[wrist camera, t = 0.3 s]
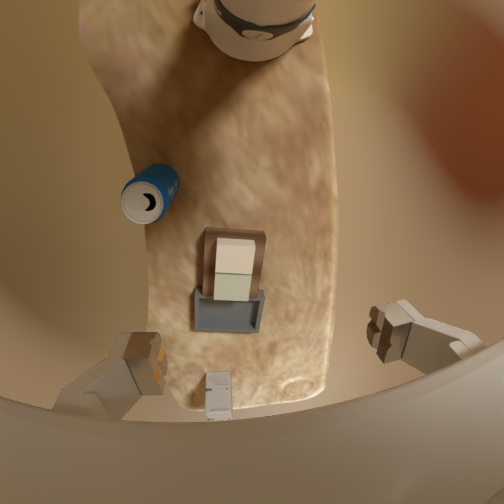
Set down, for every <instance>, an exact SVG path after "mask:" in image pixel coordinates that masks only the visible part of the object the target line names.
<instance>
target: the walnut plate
mask: <svg viewBox="0 0 504 504" xmlns="http://www.w3.org/2000/svg"><path fill="white" fill-rule="evenodd" d="M217 238H228V239H244V240H254V242H255V246H256V247H255V255H254V262H253V270H252V274H251V276H252V277H251V285H250V292H249V298H257V296H258V290H259V283H260V277H261V270H262V264H263V257H264V250H265V244H266V236H265V233H264V231H254V230H240V229H224V228H208V227H206V231H205V245H204V269H203V296H214V280H215V264H216V248H217Z"/></svg>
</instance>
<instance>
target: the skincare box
mask: <svg viewBox="0 0 504 504" xmlns="http://www.w3.org/2000/svg"><path fill="white" fill-rule="evenodd" d="M205 414H206V417H207V419H208V420H211V421H212V420H217V421H222V420H233V407H232V387H231V376H230V372H228V371H227V372H208V373H206V392H205Z"/></svg>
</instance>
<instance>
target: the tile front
mask: <svg viewBox="0 0 504 504" xmlns="http://www.w3.org/2000/svg"><path fill="white" fill-rule="evenodd" d="M255 247H256V246H255V242H254V240H244V239H228V238H217V248H216V264H215V272H218V273H237V274H252V270H253V262H254V255H255Z"/></svg>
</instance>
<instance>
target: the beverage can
mask: <svg viewBox="0 0 504 504" xmlns="http://www.w3.org/2000/svg"><path fill="white" fill-rule="evenodd" d="M178 188H179V179H178V176H177V174H176V172H175V171H174V170H173V169H172V168H171V167H170V166H168V165H165V164H154V165H152V166H150V167H148V168H147V169H145V170H144V171H143V172H141V173H140V174H139V175H137V176H136V177H134V178H133V179H132V180H130V181H129V182H128V183H127V184H126V185H125V187H124V189H123V191H122V195H121V207H122V210H123V212H124V214H125V216H126V217H127V218H128V219H129V220H131V221H132V222H134V223H137V224H150V223H154V222H156V221H158V220H159V219H160V218H161V217H162V216H163V215H164V214H165V212H166V210H167V208H168V207H169V205H170V203H171V201H172V200H173V198H174V196H175V195H176V193H177V191H178Z"/></svg>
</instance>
